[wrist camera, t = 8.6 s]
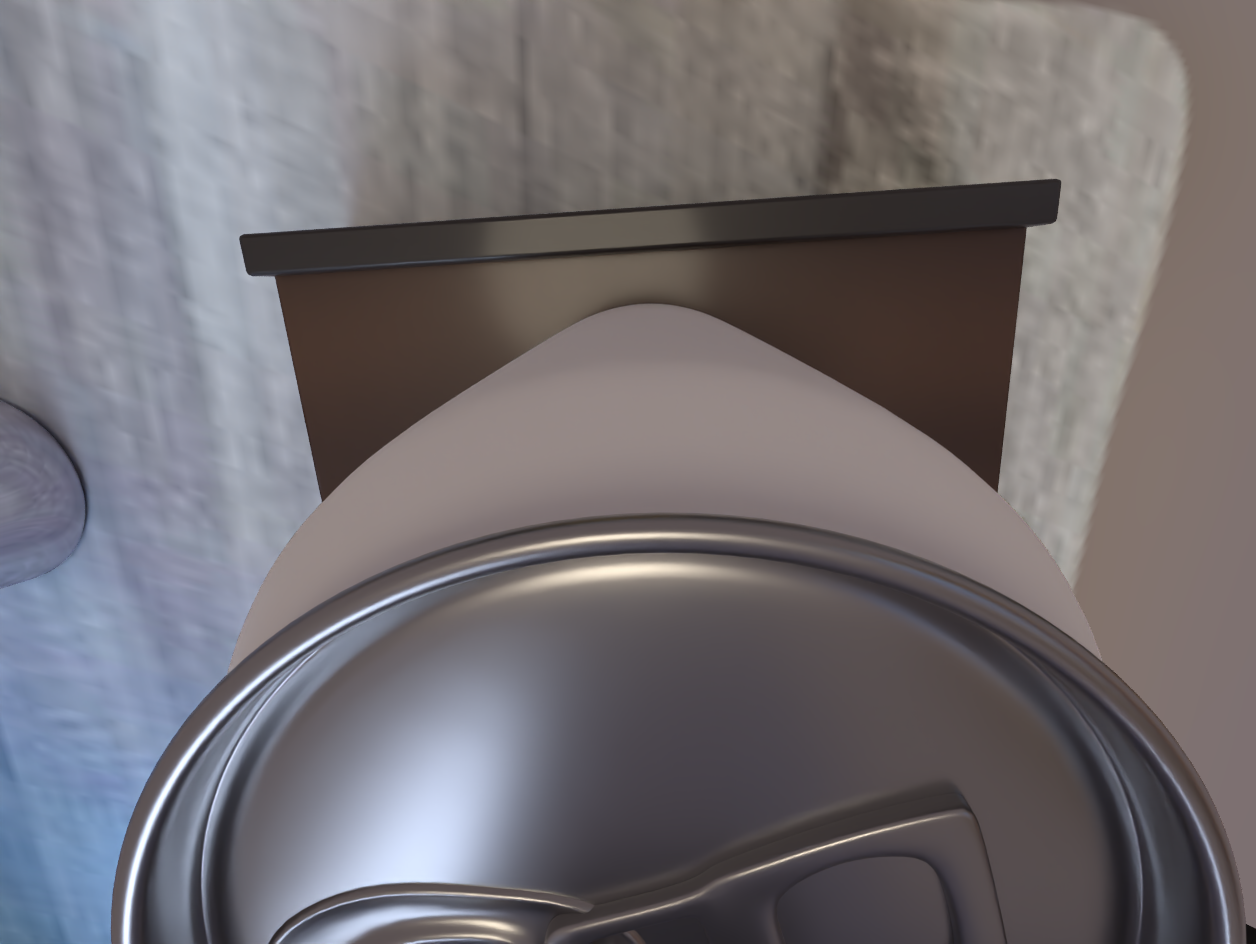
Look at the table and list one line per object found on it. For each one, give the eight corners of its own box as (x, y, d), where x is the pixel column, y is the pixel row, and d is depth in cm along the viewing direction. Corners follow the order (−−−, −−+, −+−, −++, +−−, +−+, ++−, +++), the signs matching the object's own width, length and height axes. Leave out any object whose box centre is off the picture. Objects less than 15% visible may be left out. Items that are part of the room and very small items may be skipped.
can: (466, 355, 14) (-285, 673, 3) (749, 260, 13) (1350, 141, 2) (565, 604, 16) (357, 1445, 4) (820, 532, 15) (1363, 1312, 4)
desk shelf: (918, 556, 20) (1006, 646, 15) (406, 579, 20) (332, 671, 16) (944, 206, 17) (1064, 177, 12) (348, 247, 17) (236, 234, 13)
